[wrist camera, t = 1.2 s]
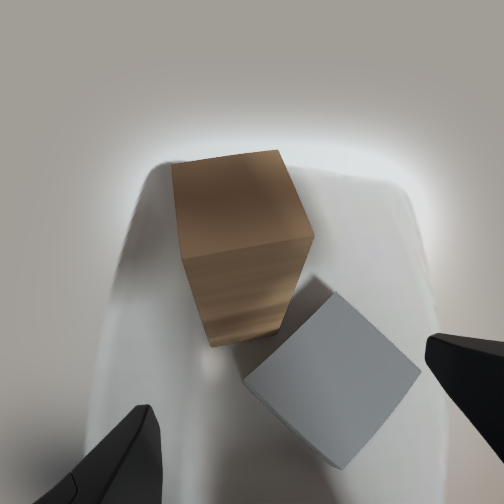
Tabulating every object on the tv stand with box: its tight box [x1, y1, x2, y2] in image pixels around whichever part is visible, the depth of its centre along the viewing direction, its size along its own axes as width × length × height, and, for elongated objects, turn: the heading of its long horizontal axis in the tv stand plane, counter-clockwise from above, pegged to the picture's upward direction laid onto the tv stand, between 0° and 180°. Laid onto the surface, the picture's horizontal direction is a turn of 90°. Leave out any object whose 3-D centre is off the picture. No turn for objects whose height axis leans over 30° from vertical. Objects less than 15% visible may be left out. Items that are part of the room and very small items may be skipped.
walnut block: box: [171, 150, 314, 347], centre depth 18 cm, size 5×5×13 cm
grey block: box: [244, 292, 422, 470], centre depth 20 cm, size 9×9×2 cm
